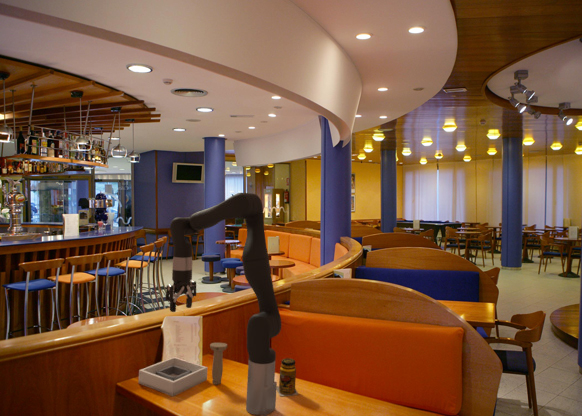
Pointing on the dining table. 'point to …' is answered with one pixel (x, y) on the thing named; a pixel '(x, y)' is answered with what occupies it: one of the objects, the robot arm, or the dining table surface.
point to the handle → (217, 361)
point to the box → (172, 376)
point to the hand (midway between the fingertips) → (181, 309)
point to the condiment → (287, 378)
